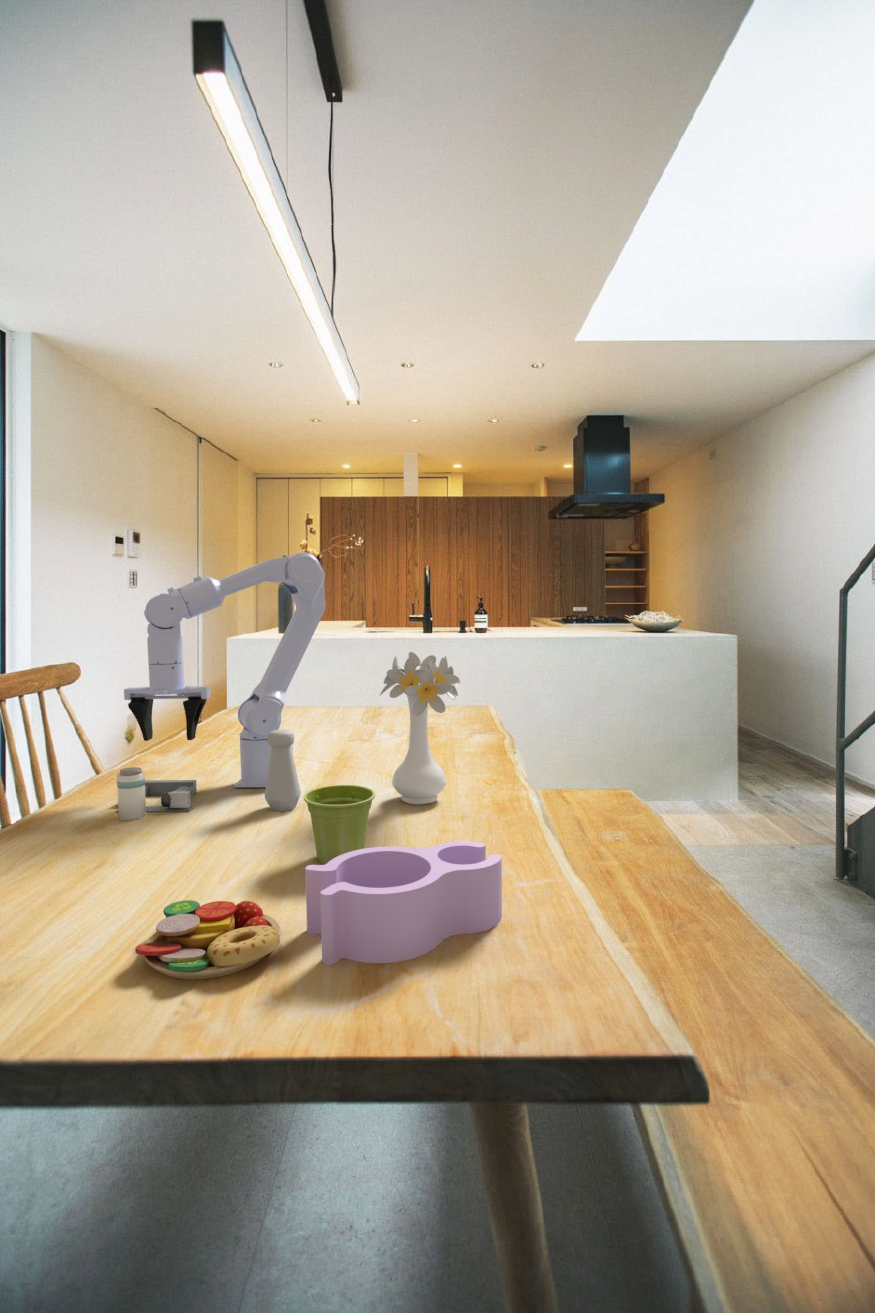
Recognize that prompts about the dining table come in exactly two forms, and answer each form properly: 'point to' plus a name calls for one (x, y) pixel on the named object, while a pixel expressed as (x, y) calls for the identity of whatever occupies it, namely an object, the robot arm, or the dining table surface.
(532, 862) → the dining table surface
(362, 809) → the plant pot
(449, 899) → the clip
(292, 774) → the salt shaker
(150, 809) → the housing
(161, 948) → the toy food set
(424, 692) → the flower vase
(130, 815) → the white cylinder
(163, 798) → the latch pin
